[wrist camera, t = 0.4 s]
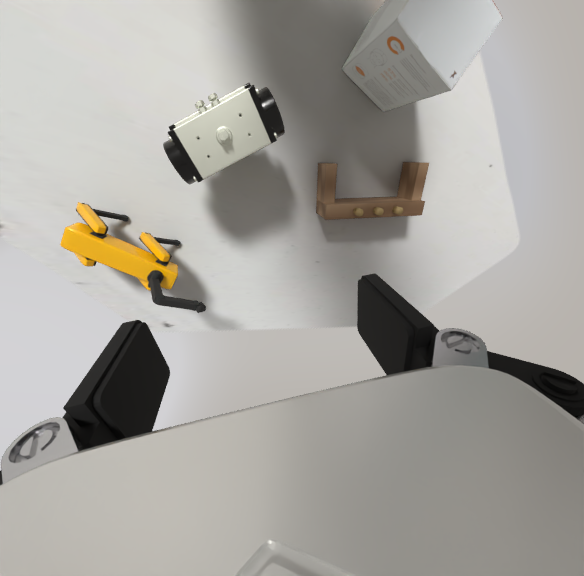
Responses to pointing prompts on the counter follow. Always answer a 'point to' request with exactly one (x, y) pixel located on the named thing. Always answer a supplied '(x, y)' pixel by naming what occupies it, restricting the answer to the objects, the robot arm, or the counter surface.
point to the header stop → (351, 208)
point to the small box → (419, 48)
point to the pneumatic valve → (223, 132)
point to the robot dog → (126, 255)
